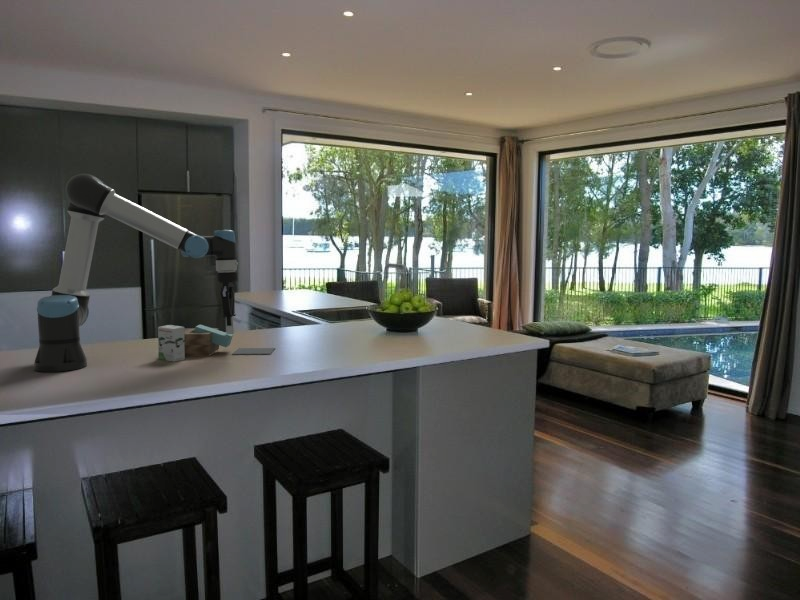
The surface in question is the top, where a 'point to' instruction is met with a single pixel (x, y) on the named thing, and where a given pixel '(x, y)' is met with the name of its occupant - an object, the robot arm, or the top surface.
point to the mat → (253, 351)
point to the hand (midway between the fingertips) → (230, 333)
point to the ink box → (171, 343)
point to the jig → (198, 343)
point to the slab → (215, 335)
